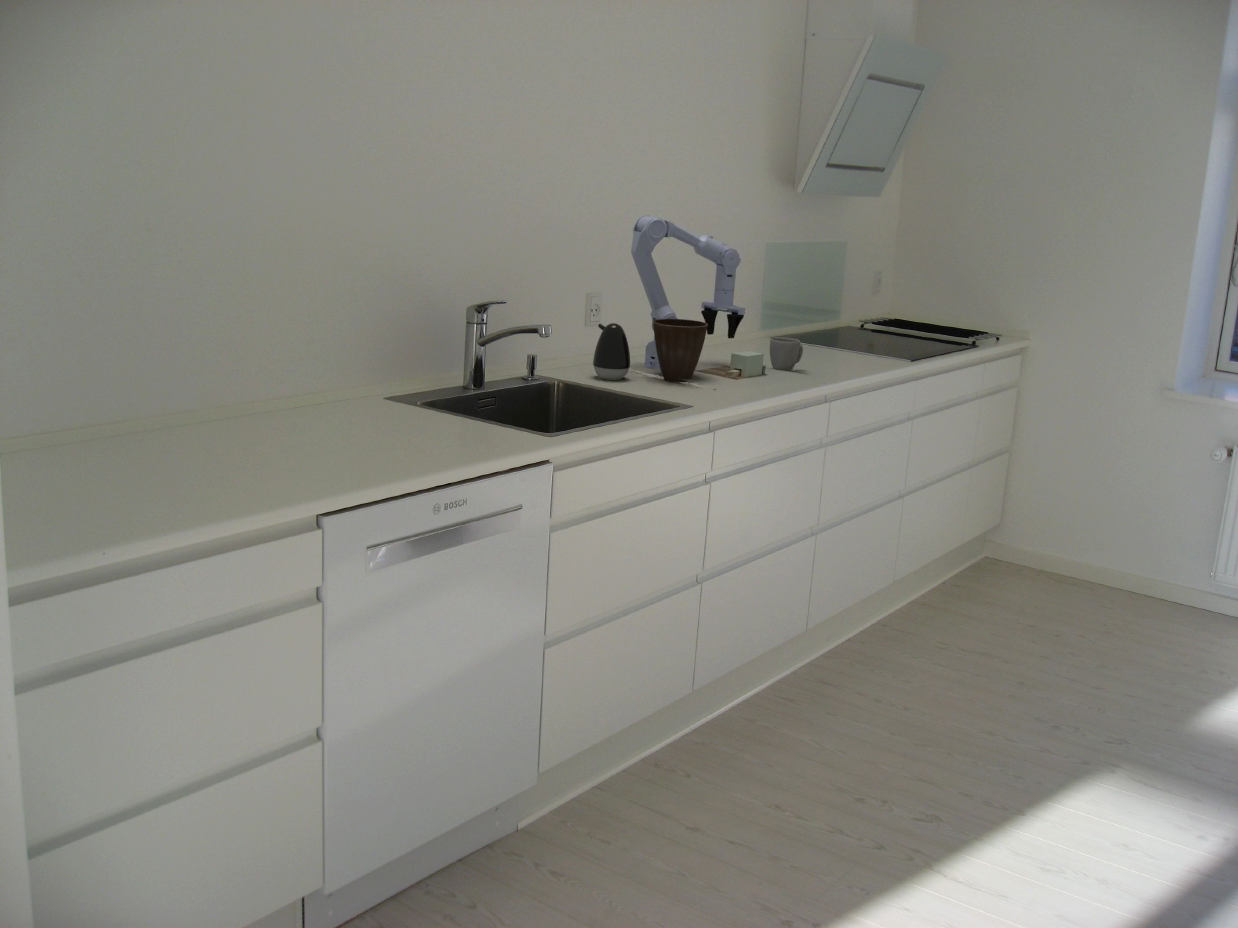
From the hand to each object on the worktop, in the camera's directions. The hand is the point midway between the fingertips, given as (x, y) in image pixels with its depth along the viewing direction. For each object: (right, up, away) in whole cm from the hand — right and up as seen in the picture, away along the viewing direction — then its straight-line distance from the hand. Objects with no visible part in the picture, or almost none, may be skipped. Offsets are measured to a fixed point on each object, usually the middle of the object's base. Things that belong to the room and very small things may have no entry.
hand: (720, 336), depth 328 cm
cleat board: (+2, -12, -7) cm, 14 cm away
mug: (+20, -10, +7) cm, 24 cm away
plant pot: (-14, -14, -17) cm, 26 cm away
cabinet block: (+6, -12, -8) cm, 16 cm away
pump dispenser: (-32, -14, -21) cm, 41 cm away
